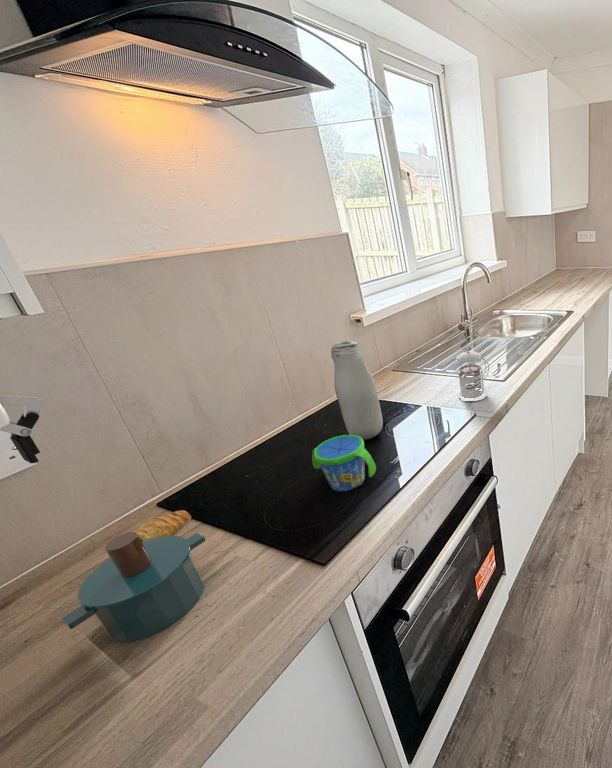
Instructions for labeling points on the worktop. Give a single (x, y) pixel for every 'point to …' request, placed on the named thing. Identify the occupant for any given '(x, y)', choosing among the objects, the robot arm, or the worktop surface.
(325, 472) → the snack cup
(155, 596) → the pot
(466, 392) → the french press
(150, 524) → the pastry
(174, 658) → the worktop surface
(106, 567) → the lid
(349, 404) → the glass bottle
